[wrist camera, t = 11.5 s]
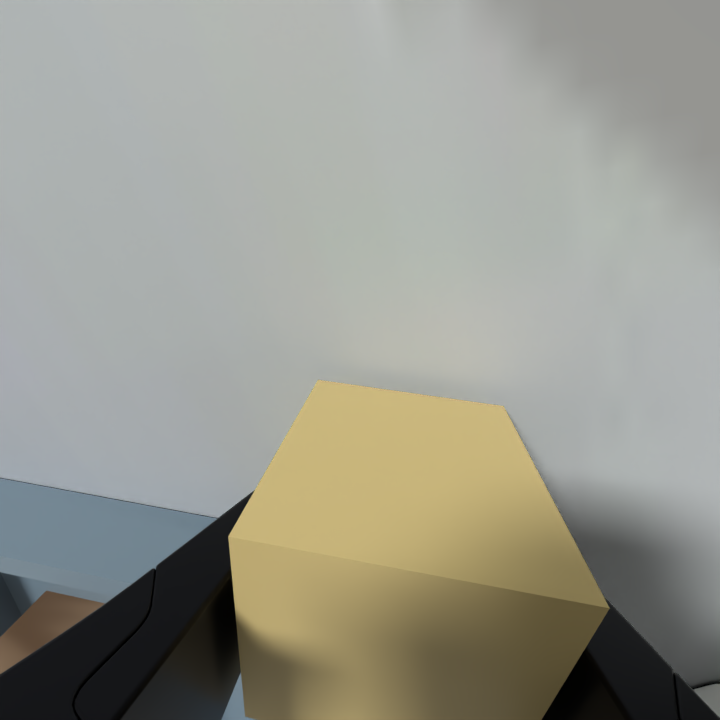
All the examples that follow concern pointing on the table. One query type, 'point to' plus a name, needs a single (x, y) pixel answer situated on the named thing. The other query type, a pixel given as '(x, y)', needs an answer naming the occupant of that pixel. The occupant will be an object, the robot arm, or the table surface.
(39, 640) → the walnut block
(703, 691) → the white cup
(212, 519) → the slate tray
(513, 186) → the table surface
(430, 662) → the ochre block
